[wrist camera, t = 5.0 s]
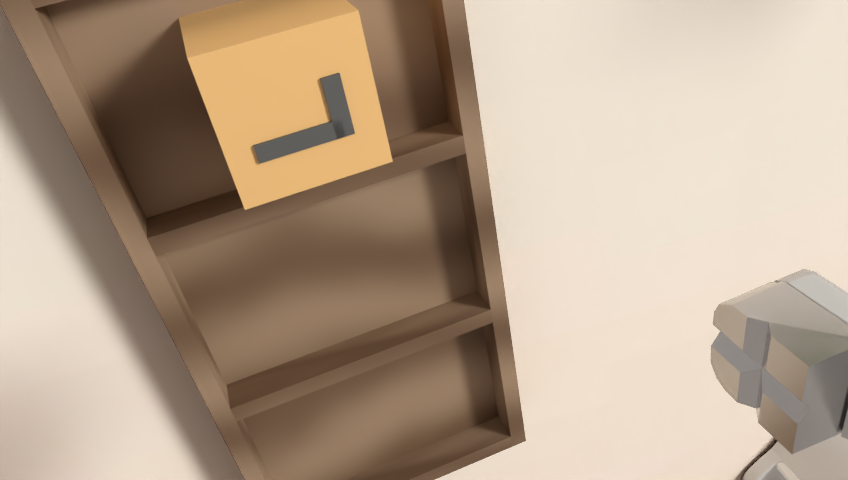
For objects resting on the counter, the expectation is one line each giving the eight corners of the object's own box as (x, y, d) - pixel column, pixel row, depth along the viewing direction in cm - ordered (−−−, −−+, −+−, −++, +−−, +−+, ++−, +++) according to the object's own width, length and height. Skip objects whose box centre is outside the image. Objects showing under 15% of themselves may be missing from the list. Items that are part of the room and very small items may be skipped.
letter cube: (354, 110, 27) (393, 162, 23) (228, 150, 26) (245, 211, 22) (321, -21, 24) (359, 10, 20) (178, 17, 23) (187, 59, 19)
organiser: (508, 413, 40) (525, 440, 38) (271, 511, 37) (278, 545, 35) (423, -129, 24) (446, -125, 22) (3, -26, 21) (-9, -12, 20)
